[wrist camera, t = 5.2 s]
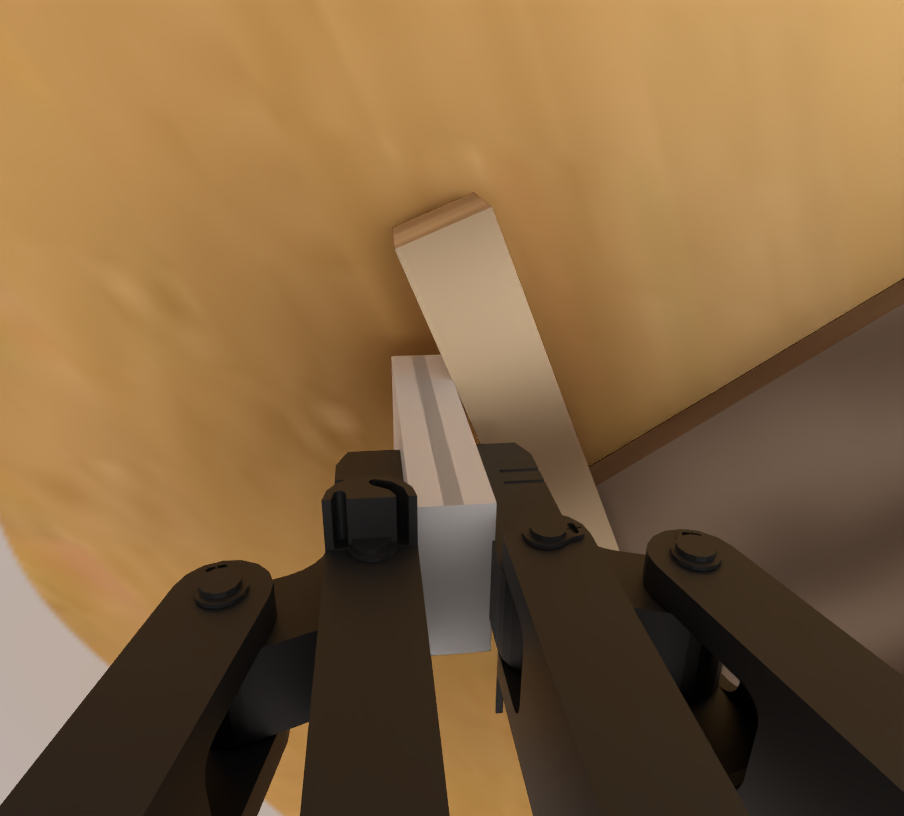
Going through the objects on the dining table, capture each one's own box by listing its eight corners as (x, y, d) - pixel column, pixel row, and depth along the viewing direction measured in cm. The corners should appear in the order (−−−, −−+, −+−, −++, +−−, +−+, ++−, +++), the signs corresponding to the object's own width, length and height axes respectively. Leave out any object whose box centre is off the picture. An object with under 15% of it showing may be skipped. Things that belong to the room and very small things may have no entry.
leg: (635, 609, 20) (682, 700, 17) (566, 635, 21) (600, 730, 17) (477, 190, 15) (503, 209, 12) (388, 229, 15) (390, 257, 12)
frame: (1138, 569, 24) (1299, 665, 19) (703, 791, 26) (764, 917, 22) (1047, 193, 18) (1245, 215, 14) (502, 519, 20) (532, 620, 16)
